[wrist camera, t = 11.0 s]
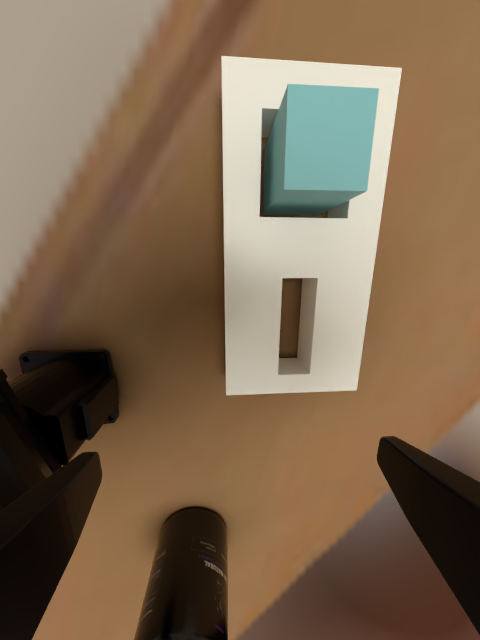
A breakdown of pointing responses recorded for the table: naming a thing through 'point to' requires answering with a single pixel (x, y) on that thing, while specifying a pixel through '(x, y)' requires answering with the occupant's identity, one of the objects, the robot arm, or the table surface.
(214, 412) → the table surface
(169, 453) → the table surface
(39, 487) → the robot arm
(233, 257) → the socket plate
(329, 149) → the square peg
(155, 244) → the table surface
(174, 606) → the supplement bottle
